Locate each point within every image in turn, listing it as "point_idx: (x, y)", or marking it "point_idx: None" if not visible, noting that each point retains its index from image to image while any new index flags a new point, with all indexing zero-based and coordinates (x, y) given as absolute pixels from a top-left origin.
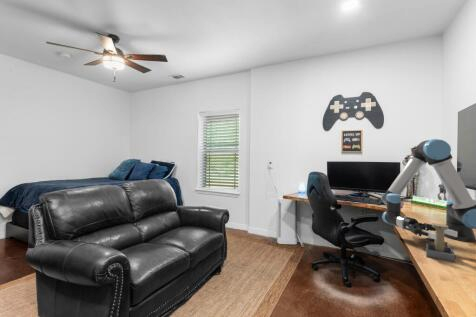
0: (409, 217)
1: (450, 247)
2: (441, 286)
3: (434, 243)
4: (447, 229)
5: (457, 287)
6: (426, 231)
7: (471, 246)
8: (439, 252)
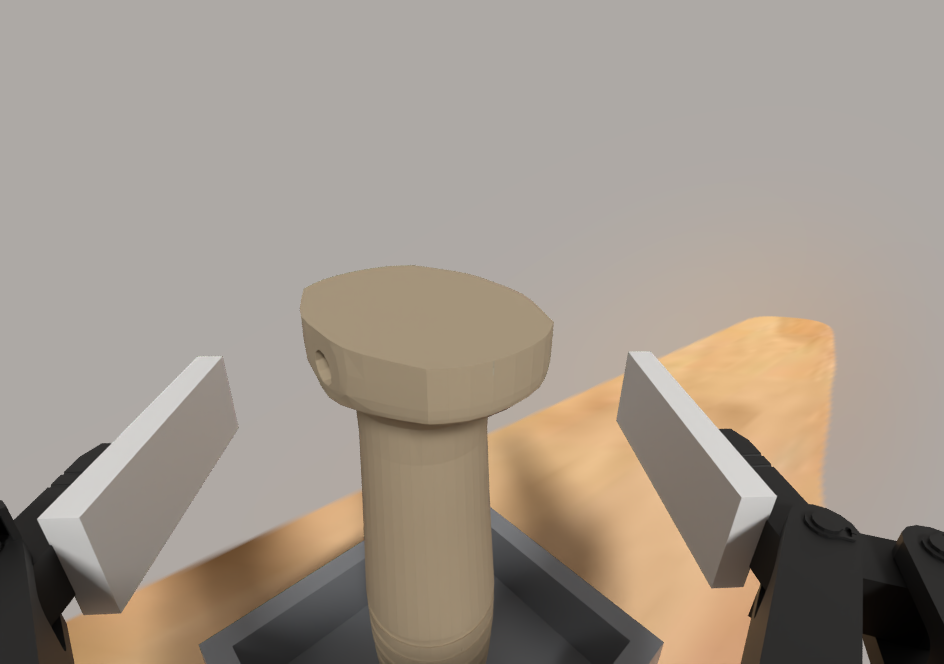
0: None
1: (212, 653)
2: (784, 381)
3: (479, 639)
4: (146, 444)
5: (710, 371)
6: (718, 434)
7: None
8: (548, 552)
